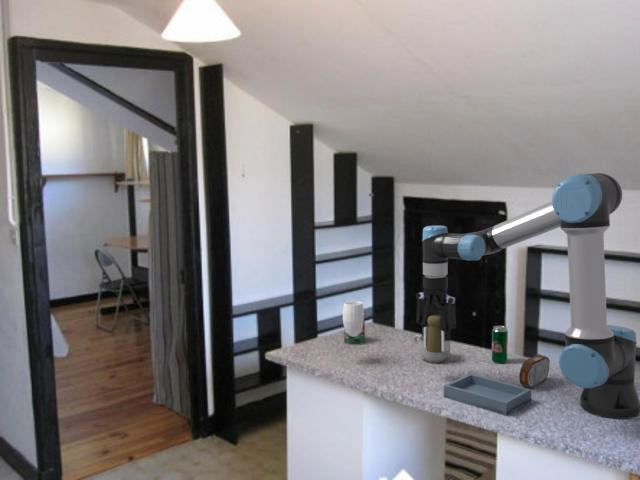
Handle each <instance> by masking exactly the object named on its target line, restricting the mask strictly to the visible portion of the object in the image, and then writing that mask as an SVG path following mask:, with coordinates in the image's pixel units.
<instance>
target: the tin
mask: <svg viewBox="0 0 640 480" xmlns="http://www.w3.org/2000/svg"><path fill="white" fill-rule="evenodd" d="M550 361H551V360H550V358H549V357H547V356H546V355H542V354H540V353H539V354H536V355H534V356H533V357H529V358H527V359H525V361H524V362H523V363H522V365H521V367H520V371H519V375H518V376H519V377H518V379H519V380H518V381H519V384H520V386H521V387H524V388H528V389H531V388H534V387H535V386H537V385H539V384H541V383H543V382H544V381H545V380H546V379H547V378H548V375H549V372H550V363H551V362H550Z"/></svg>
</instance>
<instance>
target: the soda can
mask: <svg viewBox="0 0 640 480" xmlns="http://www.w3.org/2000/svg"><path fill="white" fill-rule="evenodd" d="M492 328H493V329H492V330H491V361H492V362H493V363H496V364H505V363H507V361H508V344H509V343H508V336H509V335H508V334H509V333H508V328H507V326H504V325H493V327H492Z"/></svg>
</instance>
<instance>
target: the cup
mask: <svg viewBox="0 0 640 480" xmlns="http://www.w3.org/2000/svg"><path fill="white" fill-rule="evenodd" d="M363 305H364V304H363V302H362V301H357V300H351V301H344V303H343V307H342V308H343V309H342V322H343V329H344V328H345V331H346V333H348V334H349V335H350V336H352V337H355V336H357V335H358V334H359V333H361V331H362V327H363V322H364V314H365V312H364V306H363Z"/></svg>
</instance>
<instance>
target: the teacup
mask: <svg viewBox="0 0 640 480" xmlns="http://www.w3.org/2000/svg"><path fill="white" fill-rule="evenodd" d="M417 338H418V339H417ZM417 340H418V341H417ZM412 341H413V343H414V345H415V347H417V348H418V351H419V353H418V354H419V355H420V357H421V358H423V359H424V361H426V362H429V363H441V362H444V361H445V360H446V359H447V358H448V357H449V356H450V352H451V350H450V349H451V339H450V340H449V350H447V351H445V352H441V353H433V352H428V351H427V350H426V349H427V348H424V336H422V334H415V335H414V336H413V338H412Z"/></svg>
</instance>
